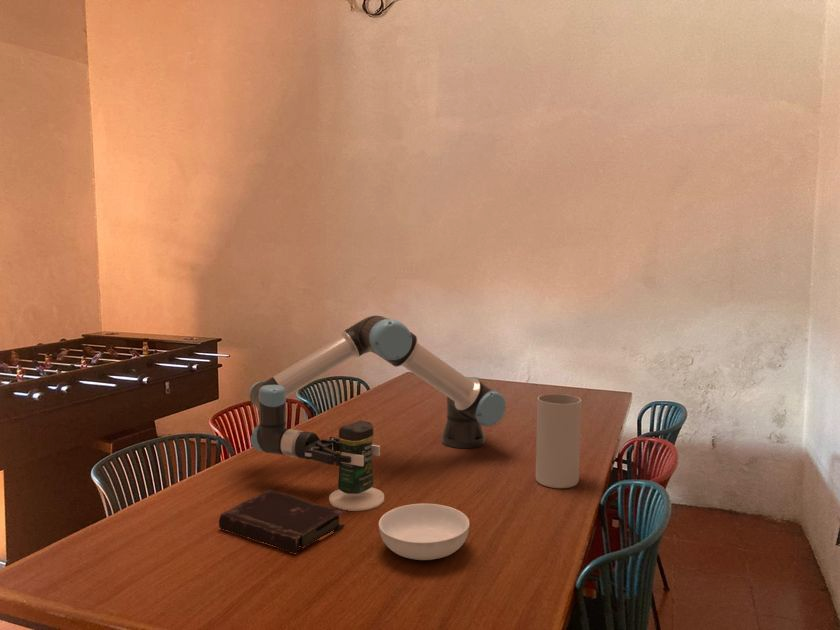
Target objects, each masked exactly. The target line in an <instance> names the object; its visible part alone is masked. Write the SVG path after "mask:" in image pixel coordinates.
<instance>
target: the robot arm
mask: <svg viewBox="0 0 840 630" xmlns="http://www.w3.org/2000/svg"><path fill="white" fill-rule="evenodd" d="M367 353H373V354H375V355H376V356H378V357H380V358H381V359H383V360H385V362H387V363H389V364H390V365H391V366H393V367H396V368H397V367H403V368H405V369H406V370H408V371H409V372H411V373H413V375H415V376H416V377H418V378H420V379H421V380H423V381H424V383H425V382H426V383H427V384H428V385H430V386H431V387H433V388H434V389H436V390H437V391H438V392H440V393H441V394H443V396H446V422H445V424H444V428H443V431H442V434H441V443H442V444H444V445H445V446H446V447H451V448H456V449H457V448H458V449H475V448H478V447H481V446H483V445H484V444H485V443H486V442H485V441H486V440H485V439H486V438H485V437H486V436H485V432H484V430H483V426H485V427H491V426H496V425H497V424H498V423H499V422H501V420H502V419H503V417H504V415H505V413H506V410H507V409H506V408H507V407H506V399H505V397H504V396H503V395H502V394H501V393H500V392H499V391H498V390H493V389H492V388H490V387H488V386H487V385H486V384H484V383H483V382H482V380H481V378H480V377H478V376H465V375H464V374H462V373H461V372H459V371H457V370H456V369H455V368H454V367H452V366H451V365H449V364H448V363H446V362H445V361H443V360H442V359H441V358H440V357H438V356H437V355H436V354H434V353H432V351H429V350H428V349H427V348H425V347H424V346H423V345H421V344H420V343H418V337H417V335H415V334H414V333H413V332H411V331H410V329H409V328H408V327H407V326H406V325H405V324H404V323H402V321H399V320H396V319H392V318H387V317H385V316H381V315H371V316H367V317H366V318H363V319H362V320H360V321H358V322H356V323H355V324H353V325H351V326H350V327H348V328H346V329H345V330H343V331H342V332H341V335H340V336H339V337H337V338H335V339H334V340H333V341H331V342H329V343H326V345H324V346H323V347H321V348H319V349H318V350H315V351H314V352H312V353H310V354H309V355H307V356H306V357H304V358H302V359H301V360H299V361H297V362H295V363H294V364H292V365H290V366H289V367H287V368H285V369H284V370H282V371H281V372H279V373H277V374H275V375H273V376H272V377H270V378H269V379H267V380H265V381H257V382H255V383H254V384H253V385H252V386H251V387H250V389H249V390H248V391H249V392H248V394H249V399H250V402H251V404H252V405H253V406H254V407H256V409H257V410H258V413H259V415H258V418H259V424H258V425H256V426H255V427H254V428H253V430H252V432H251V436H250V444H251V446H252V447H253V449H254V450H256V451H260V452H263V453H265V454H266V453H267V454H274V455H281V456H287V457H290V458H292V459H294V458H299V459H304V460H313V461H316V462H319V463H323V464H327V465H331V466H333V465H335V466H337V467H339V466H340V462H341V463H345V464H351V465H357V466H364V456H363V455H357V454H351V453H345V452H342V453H341V455H340V442H339V437H334V436H329V439H327V438H321V439H320V438H319V435H317V434H316V433H315V432H311V431H310V432H309V431H305V430H298V429H292V428H287V419H286V418H287V417H286V415H287V414H286V413H287V408H286V407H287V403H286V402H287V398H288V397H289V396H291V395H292V394H294V393H296V392H297V391H298V390H301V389H302V388H303V387H305V386H307V385H309V384H310V383H312V382H313V381H316V380H317V379H318V378H320V377H322V376H324V375H325V374H327V373H328V372H330V371H332V370H333V369H336V368H337V367H338V366H340V365H342V364H343V363H345V362H347V361H349V360H350V359H351V358H353V357H355V358H359V357H361V356H362V355H365V354H367ZM372 456H376V457H380V456H381V445H379V444H378V445H377V444H372Z"/></svg>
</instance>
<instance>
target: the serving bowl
mask: <svg viewBox="0 0 840 630" xmlns="http://www.w3.org/2000/svg"><path fill="white" fill-rule="evenodd" d="M378 529H379V530H378V531H379V535H380V538H381V539H382V541H383V543H384V544H385V546H386V547H387V548H388V549H389V550H391V552H393V553H395V554H397V555H398V556H400V557H403V558H407V559H410V560H418V561H432V560H436V559H441V558H445V557H448V556H450V555H452V554H453V553H455V552H456V551H458V550H459V549H460V548H461V547H463V545H464V543H465V542H466V540H467V538H468V536H469V535H468V534H469V531H470V519H469V517H468V516H467V515H466V514H465V513H463V512H462V511H460V509H459V510H458V509H456V508H454V507H451V506H447V505H443V504H438V503H411V504H406V505H402V506H398V507H394V508H393V509H392V508H391V509H390V510H389V511H387V512H385V513H384V514H383V515H382V516H381V517H380V519H379V520H378Z"/></svg>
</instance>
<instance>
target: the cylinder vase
mask: <svg viewBox="0 0 840 630" xmlns="http://www.w3.org/2000/svg"><path fill="white" fill-rule="evenodd" d="M536 407H537V408H536V409H537V410H536V439H535V440H536V443H535V445H536V447H535V449H536V450H535V480H536V482H537V483H539V484H540V485H542V486H544V487H548V488H552V489H570V488H573V487H576V486H577V485H578V483H579V482H580V481H579V479H580V478H579V477H580V451H581V449H580V448H581V447H580V446H581V422H582V421H581V419H582V398H580V397H578V396H576V395H575V396H574V395H572V394H571V395H570V394H566V393H565V394H564V393H563V394H562V393H548V394H541V395H538V397H537V406H536Z"/></svg>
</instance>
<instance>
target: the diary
mask: <svg viewBox="0 0 840 630" xmlns="http://www.w3.org/2000/svg"><path fill="white" fill-rule="evenodd" d="M344 513H345V512H344V510H340V509H337V508H333V507H328V506H324V505H320V504H318V503H313V502H309V501H306V500H304V499H301V498H299V497H297V496H294V495H290V494H288V493H283V492H280V491H277V490H273V489H268V490H266V491H265V492H264V491H263V492H262V493H260V494H258V495H256V496H253V497H252V498H250V499H247V500H245V501H243V502H241V503H238V505H236V506H234V507H232V508H229V510H227V511H224V512H222V513H221V514H220V516H219V520H218V527H219V528H221V529H224V530H228V531H230V532H233V533H236V534H239V535H242V536H245V537H249V538H251V539H254V540H257V541H260V542H264V543H267V544H270V545H273V546H276V547H279V548H281V549H284V550H287V551H289V552H292V553H296V554H297V553H298V551H299V550H297V549H300V550H301V548H300V547H299V546H301V547H304V546H306V545H308V544H310V543H312V542H313V541H315V540H317V539H319V538H320V537H322V536H324V535H326V534H328V533H330V532H331V531H333V530H334V531H333V532H335V533H337V532H339V531H340V530H342V529H341V528H344V526H345V524H344V523H343V524H340V515H341V514H344ZM221 529H220V530H221ZM224 530H223V531H224ZM338 530H339V531H338ZM336 531H337V532H336ZM230 532H229V533H230ZM233 533H232V534H233ZM236 534H235V535H236ZM239 535H238V536H239ZM242 536H241V537H242ZM245 537H244V538H245ZM251 539H250V540H251ZM315 542H316V541H315ZM312 544H313V543H312ZM310 545H311V544H310ZM281 549H280V550H281ZM289 552H288V553H289ZM292 553H291V554H292ZM298 554H299V553H298Z"/></svg>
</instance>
